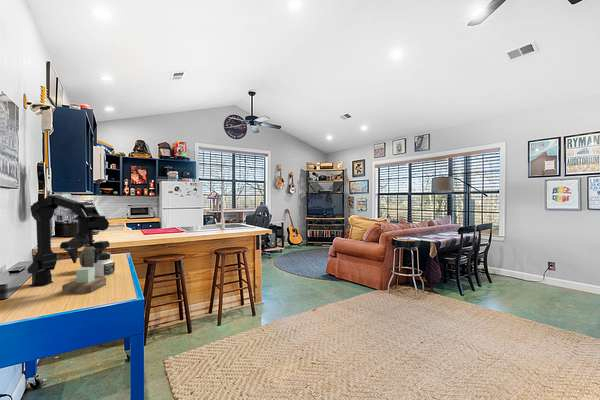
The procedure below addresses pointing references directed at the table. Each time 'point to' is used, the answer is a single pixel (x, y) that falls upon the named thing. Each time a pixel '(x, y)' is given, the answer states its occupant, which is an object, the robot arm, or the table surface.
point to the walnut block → (83, 286)
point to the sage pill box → (85, 275)
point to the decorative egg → (87, 257)
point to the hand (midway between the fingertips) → (85, 263)
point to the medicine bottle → (104, 265)
